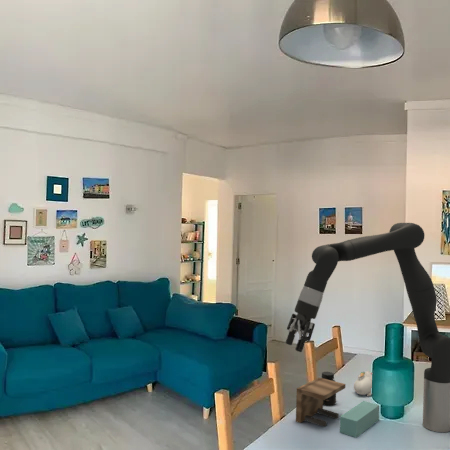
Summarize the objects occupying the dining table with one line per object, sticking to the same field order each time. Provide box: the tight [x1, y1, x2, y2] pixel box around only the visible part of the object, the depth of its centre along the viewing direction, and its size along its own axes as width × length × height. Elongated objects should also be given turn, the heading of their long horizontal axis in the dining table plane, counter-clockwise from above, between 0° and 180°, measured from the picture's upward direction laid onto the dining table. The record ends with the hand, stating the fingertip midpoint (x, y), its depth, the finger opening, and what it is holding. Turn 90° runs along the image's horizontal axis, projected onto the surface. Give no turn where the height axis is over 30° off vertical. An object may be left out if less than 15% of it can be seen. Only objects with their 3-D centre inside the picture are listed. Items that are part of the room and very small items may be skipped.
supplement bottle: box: [321, 371, 337, 407], centre depth 190 cm, size 7×7×12 cm
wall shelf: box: [295, 377, 346, 428], centre depth 175 cm, size 17×11×12 cm, turn 141°
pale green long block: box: [339, 400, 380, 438], centre depth 169 cm, size 6×20×6 cm, turn 141°
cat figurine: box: [353, 370, 373, 397], centre depth 204 cm, size 10×8×15 cm
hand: (293, 347), depth 159 cm, fingers open, 8 cm apart
